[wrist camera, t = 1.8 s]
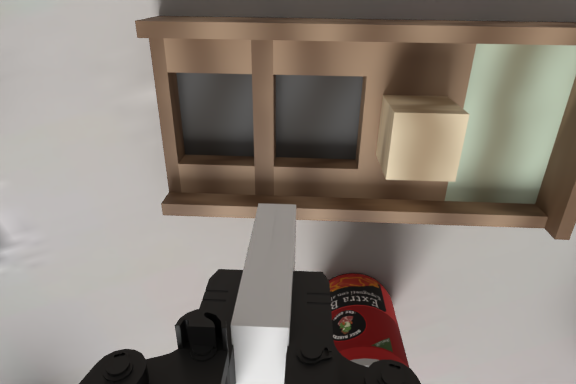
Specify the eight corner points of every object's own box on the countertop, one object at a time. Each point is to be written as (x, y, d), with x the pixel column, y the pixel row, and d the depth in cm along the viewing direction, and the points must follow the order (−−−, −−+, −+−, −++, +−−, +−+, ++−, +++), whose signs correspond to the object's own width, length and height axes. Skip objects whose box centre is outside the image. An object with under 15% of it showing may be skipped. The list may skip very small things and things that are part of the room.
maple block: (447, 96, 29) (469, 114, 25) (436, 156, 31) (455, 181, 27) (382, 94, 29) (394, 112, 25) (376, 154, 31) (385, 179, 27)
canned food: (380, 262, 39) (404, 356, 29) (399, 323, 42) (426, 427, 32) (302, 281, 40) (299, 377, 30) (326, 339, 43) (331, 443, 34)
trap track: (584, 22, 29) (647, 31, 23) (529, 200, 35) (569, 239, 30) (158, 15, 30) (125, 22, 25) (179, 189, 36) (156, 225, 31)
